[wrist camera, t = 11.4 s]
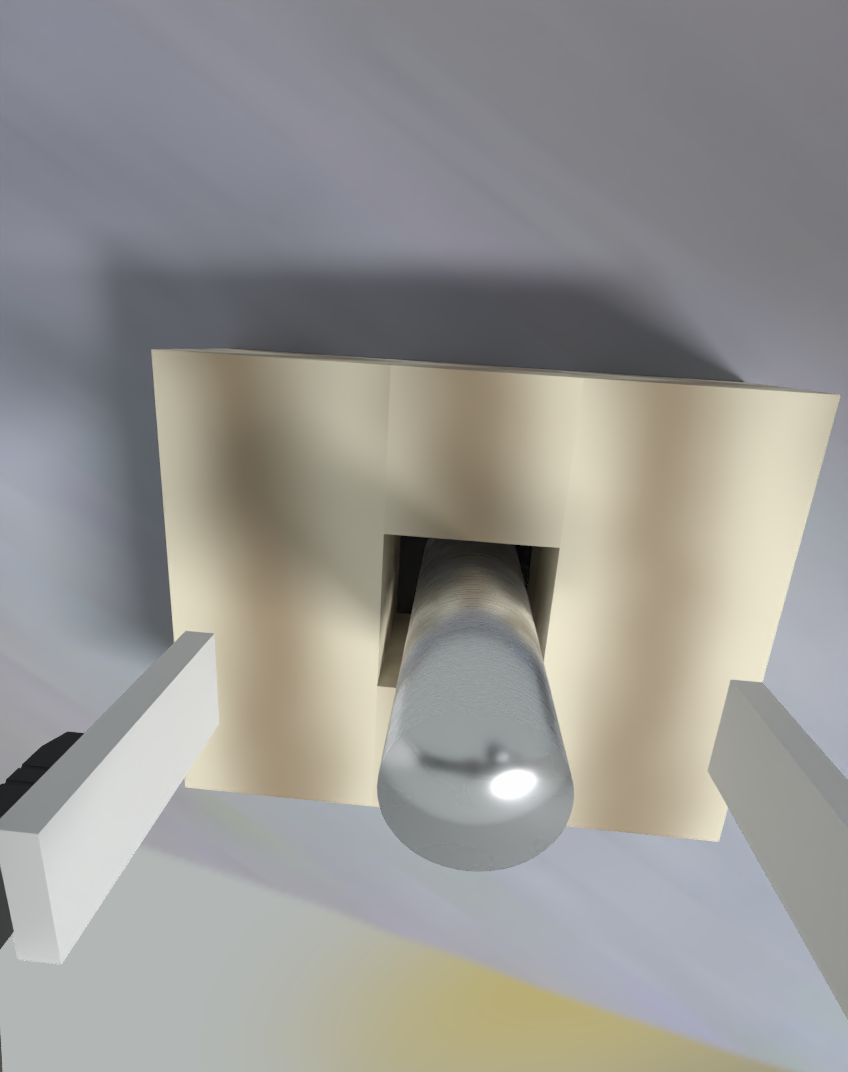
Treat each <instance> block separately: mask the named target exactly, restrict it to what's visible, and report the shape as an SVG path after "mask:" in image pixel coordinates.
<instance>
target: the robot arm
mask: <svg viewBox="0 0 848 1072" xmlns="http://www.w3.org/2000/svg"><path fill="white" fill-rule="evenodd" d="M218 725H219V707H218V689H217V670H216V652H215V634H214V633H204V632H193V631H185V632H184V633H183V634H182V635H181V636H180V637H179V638H178V639H177V640H176V641H175V642H174V643H173V644H172V645H171V646H170V647H169V648H168V649H167V650H166V651H165V652H164V653H163V654H162V655H161V656H160V657H159V658H158V659H157V660H156V661H155V662H154V663H153V664H152V665H151V666H150V667H149V668H148V669H147V671H146V672H145V673H144V674H143V675H142V676H141V677H140V678H139V679H138V680H137V681H136V682H135V683H134V684H133V685H132V686H131V687H130V688H129V689H128V690H127V691H126V692H125V693H124V694H123V695H122V696H121V697H120V698H119V699H118V700H117V701H116V702H115V703H114V704H113V705H112V706H111V707H110V708H109V709H108V710H107V711H106V712H105V713H104V714H103V715H102V716H101V717H100V718H99V719H98V720H97V721H96V722H95V723H94V724H93V725H92V726H91V727H90V728H89V729H88V730H87V731H86V732H85V733H76V732H66V733H64V734H63V735H61V736H59V737H57V738H56V739H54V740H52V741H50V742H48V743H47V744H45V745H43V746H41V747H40V748H39V749H38V750H37V751H36V752H35V753H34V754H33V755H32V756H31V757H30V758H29V759H28V760H27V761H25V762H24V763H23V764H22V767H21V768H18V769H17V770H16V771H15V772H14V773H13V774H12V775H11V776H10V777H8V778H7V779H6V783H5V784H1V785H0V949H1V947H2V946H3V945H4V943H5V942H6V941H7V940H8V938H9V937H10V936H11V935H12V937H13V941H14V946H15V951H16V956H17V959H18V960H25V961H34V962H42V963H51V964H59V965H61V964H62V963H63V962H64V960H65V958H66V957H67V955H68V954H69V952H70V951H71V949H72V948H73V946H74V945H75V943H76V942H77V940H78V939H79V937H80V936H81V934H82V933H83V931H84V929H85V928H86V926H87V925H88V923H89V922H90V920H91V919H92V917H93V916H94V914H95V913H96V911H97V909H98V908H99V907H100V905H101V904H102V902H103V901H104V899H105V897H106V896H107V894H108V893H109V891H110V890H111V888H112V887H113V885H114V884H115V882H116V880H117V879H118V878H119V876H120V875H121V873H122V872H123V870H124V868H125V867H126V865H127V864H128V862H129V861H130V859H131V858H132V856H133V855H134V853H135V852H136V850H137V849H138V847H139V846H140V844H141V843H142V841H143V840H144V838H145V836H146V835H147V833H148V832H149V830H150V829H151V827H152V826H153V824H154V823H155V821H156V820H157V818H158V817H159V815H160V814H161V812H162V811H163V809H164V808H165V806H166V804H167V803H168V801H169V800H170V798H171V797H172V795H173V794H174V792H175V791H176V789H177V788H178V786H179V785H180V783H181V782H182V780H183V779H184V777H185V775H186V774H187V772H188V771H189V769H190V768H191V766H192V765H193V763H194V762H195V760H196V759H197V757H198V756H199V754H200V753H201V751H202V750H203V748H204V747H205V745H206V743H207V742H208V740H209V739H210V737H211V736H212V734H213V733H214V731H215V730H216V728H217V727H218ZM708 773H709V775H710V776H711V778H712V780H713V782H714V783H715V785H716V787H717V789H718V791H719V792H720V794H721V796H722V798H723V799H724V801H725V803H726V805H727V806H728V808H729V810H730V812H731V814H732V815H733V817H734V819H735V821H736V822H737V824H738V826H739V828H740V830H741V831H742V833H743V835H744V837H745V838H746V840H747V842H748V844H749V845H750V847H751V849H752V851H753V853H754V854H755V856H756V858H757V860H758V861H759V863H760V865H761V867H762V869H763V870H764V872H765V874H766V876H767V877H768V879H769V881H770V883H771V884H772V886H773V888H774V890H775V892H776V893H777V895H778V897H779V899H780V900H781V902H782V904H783V906H784V907H785V909H786V911H787V913H788V915H789V916H790V918H791V920H792V922H793V923H794V925H795V927H796V929H797V931H798V932H799V934H800V936H801V938H802V939H803V941H804V943H805V945H806V946H807V948H808V950H809V952H810V954H811V955H812V957H813V959H814V961H815V962H816V964H817V966H818V968H819V970H820V971H821V973H822V975H823V977H824V978H825V980H826V982H827V984H828V985H829V987H830V989H831V991H832V993H833V994H834V996H835V998H836V1000H837V1001H838V1003H839V1005H840V1007H841V1008H842V1010H843V1012H844V1014H845V1016H846V1017H847V1019H848V780H847V779H846V778H845V776H844V775H843V774H842V773H841V772H840V771H839V770H838V768H837V767H836V766H835V765H834V764H833V763H832V762H831V760H830V759H829V758H828V757H827V756H826V755H825V754H824V752H823V751H822V750H821V749H820V748H819V747H818V746H817V744H816V743H815V742H814V741H813V740H812V739H811V738H810V736H809V735H808V734H807V733H806V732H805V731H804V730H803V728H802V727H801V726H800V725H799V724H798V723H797V722H796V720H795V719H794V718H793V717H792V716H791V715H790V714H789V712H788V711H787V710H786V709H785V708H784V707H783V706H782V704H781V703H780V702H779V701H778V700H777V699H776V698H775V696H774V695H773V694H772V693H771V692H770V691H769V690H768V688H767V687H766V686H765V685H764V684H763V683H762V682H753V681H742V680H730V684H729V688H728V692H727V696H726V700H725V704H724V708H723V712H722V716H721V720H720V724H719V727H718V731H717V735H716V739H715V743H714V747H713V751H712V755H711V759H710V763H709V767H708ZM0 1072H2V1056H1V1037H0Z"/></svg>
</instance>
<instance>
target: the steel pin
mask: <svg viewBox="0 0 848 1072" xmlns="http://www.w3.org/2000/svg"><path fill="white" fill-rule="evenodd" d="M377 796H378V801H379V806H380V809H381V812H382V815H383V817H384V819H385V821H386V823H387V825H388V826H389V828H390V829H391V830H392V832H393V833H394V834H395V836H396V837H397V838H398V839H399V840H400V841H401V842H402V843H403V844H404V845H406V846H407V847H408V848H409V849H410V850H412V851H413V852H415V853H416V854H418V855H419V856H421V857H423V858H425V859H427V860H429V861H431V862H434V863H436V864H439V865H442V866H445V867H449V868H453V869H458V870H465V871H493V870H499V869H505V868H508V867H512V866H516V865H518V864H521V863H523V862H526V861H528V860H530V859H532V858H533V857H535V856H537V855H538V854H540V853H541V852H543V851H544V850H545V849H547V848H548V847H549V846H550V845H551V844H552V843H553V842H554V841H555V840H556V839H557V838H558V836H559V835H560V834H561V832H562V831H563V829H564V828H565V826H566V824H567V822H568V820H569V817H570V815H571V811H572V807H573V801H574V786H573V780H572V776H571V772H570V767H569V763H568V759H567V755H566V751H565V747H564V743H563V739H562V735H561V731H560V726H559V722H558V718H557V714H556V710H555V706H554V702H553V698H552V694H551V690H550V686H549V681H548V677H547V673H546V669H545V665H544V661H543V657H542V653H541V649H540V645H539V640H538V636H537V632H536V628H535V624H534V620H533V616H532V612H531V608H530V604H529V600H528V595H527V591H526V587H525V583H524V579H523V575H522V571H521V567H520V563H519V559H518V554H517V550H516V546H515V544H503V543H490V542H478V541H465V540H453V539H440V538H429V539H428V541H427V543H426V546H425V550H424V554H423V559H422V564H421V569H420V574H419V579H418V584H417V589H416V593H415V598H414V603H413V608H412V613H411V618H410V623H409V628H408V633H407V637H406V642H405V647H404V652H403V657H402V662H401V667H400V672H399V676H398V681H397V686H396V691H395V696H394V701H393V706H392V711H391V715H390V720H389V725H388V730H387V735H386V740H385V745H384V750H383V755H382V759H381V764H380V769H379V774H378V781H377Z"/></svg>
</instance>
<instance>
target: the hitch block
mask: <svg viewBox="0 0 848 1072" xmlns="http://www.w3.org/2000/svg"><path fill="white" fill-rule="evenodd" d="M151 354H152V367H153V380H154V393H155V405H156V418H157V431H158V444H159V456H160V469H161V482H162V495H163V507H164V520H165V533H166V546H167V558H168V571H169V584H170V597H171V609H172V622H173V635H174V642H175V641H176V640H177V639H178V638H179V637H180V636H181V635H182V634H183V633H184V632H185V631H193V632H204V633H214V634H215V652H216V670H217V689H218V707H219V725H218V727H217V728H216V730H215V731H214V733H213V734H212V736H211V737H210V739H209V740H208V742H207V743H206V745H205V747H204V748H203V750H202V751H201V753H200V754H199V756H198V757H197V759H196V760H195V762H194V763H193V765H192V766H191V768H190V769H189V771H188V772H187V774H186V775H185V787H187V788H197V789H207V790H216V791H226V792H236V793H246V794H256V795H265V796H275V797H285V798H295V799H304V800H314V801H324V802H334V803H344V804H353V805H363V806H373V807H380V806H379V801H378V796H377V781H378V774H379V769H380V764H381V759H382V755H383V750H384V745H385V740H386V735H387V730H388V725H389V720H390V715H391V711H392V706H393V701H394V696H395V691H396V686H397V681H398V676H399V672H400V667H401V662H402V657H403V652H404V647H405V642H406V637H407V633H408V628H409V623H410V618H411V614H407V613H397V598H398V578H399V559H400V539H401V535H403V536H415V537H428V538H440V539H453V540H465V541H478V542H490V543H503V544H515V545H528V546H532V554H531V562H530V570H529V578H528V586H527V595H528V600H529V604H530V608H531V612H532V616H533V620H534V624H535V628H536V632H537V636H538V640H539V645H540V649H541V653H542V657H543V661H544V665H545V669H546V673H547V677H548V681H549V686H550V690H551V694H552V698H553V702H554V706H555V710H556V714H557V718H558V722H559V726H560V731H561V735H562V739H563V743H564V747H565V751H566V755H567V759H568V763H569V767H570V772H571V776H572V780H573V786H574V801H573V807H572V811H571V815H570V817H569V820H568V822H567V824H566V826H569V827H579V828H588V829H598V830H608V831H618V832H628V833H637V834H647V835H657V836H667V837H677V838H686V839H696V840H706V841H716V842H719V839H720V835H721V832H722V828H723V824H724V821H725V817H726V813H727V810H728V806H727V805H726V803H725V801H724V799H723V798H722V796H721V794H720V792H719V791H718V789H717V787H716V785H715V783H714V782H713V780H712V778H711V776H710V775H709V773H708V767H709V763H710V759H711V755H712V751H713V747H714V743H715V739H716V735H717V731H718V727H719V724H720V720H721V716H722V712H723V708H724V704H725V700H726V696H727V692H728V688H729V684H730V680H742V681H753V682H763V678H764V674H765V671H766V667H767V663H768V660H769V656H770V652H771V649H772V645H773V641H774V638H775V634H776V630H777V627H778V623H779V619H780V616H781V612H782V608H783V605H784V601H785V598H786V594H787V590H788V587H789V583H790V579H791V576H792V572H793V568H794V565H795V561H796V557H797V554H798V550H799V546H800V543H801V539H802V535H803V532H804V528H805V524H806V521H807V517H808V513H809V510H810V506H811V502H812V499H813V495H814V491H815V488H816V484H817V480H818V477H819V473H820V469H821V466H822V462H823V458H824V455H825V451H826V448H827V444H828V440H829V437H830V433H831V429H832V426H833V422H834V418H835V415H836V411H837V407H838V404H839V400H840V396H841V395H837V394H829V393H822V392H814V391H807V390H799V389H792V388H784V387H776V386H769V385H761V384H754V383H746V382H731V381H716V380H701V379H686V378H670V377H655V376H640V375H625V374H610V373H595V372H579V371H564V370H549V369H534V368H519V367H503V366H488V365H473V364H458V363H443V362H427V361H412V360H397V359H382V358H367V357H351V356H336V355H321V354H306V353H291V352H275V351H260V350H245V349H230V348H220V349H151Z"/></svg>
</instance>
